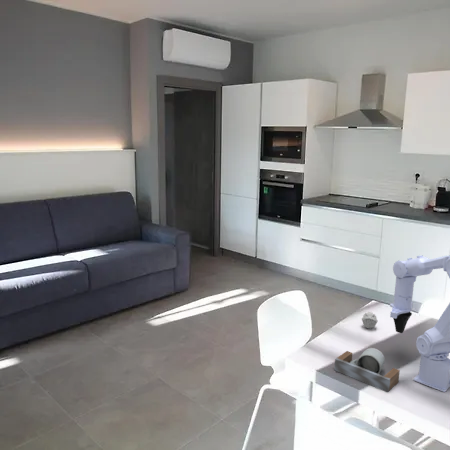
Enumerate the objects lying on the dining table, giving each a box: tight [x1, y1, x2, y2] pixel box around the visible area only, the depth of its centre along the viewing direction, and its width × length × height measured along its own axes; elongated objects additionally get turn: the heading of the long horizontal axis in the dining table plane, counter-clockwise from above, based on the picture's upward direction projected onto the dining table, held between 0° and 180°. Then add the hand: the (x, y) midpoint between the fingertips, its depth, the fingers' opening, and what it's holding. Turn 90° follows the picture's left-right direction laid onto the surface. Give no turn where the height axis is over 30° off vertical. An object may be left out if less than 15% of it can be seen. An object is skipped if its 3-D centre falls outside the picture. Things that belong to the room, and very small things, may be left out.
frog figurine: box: [361, 311, 378, 329], centre depth 177 cm, size 6×7×7 cm
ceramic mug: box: [350, 347, 385, 375], centre depth 144 cm, size 11×8×8 cm
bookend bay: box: [334, 350, 400, 393], centre depth 141 cm, size 18×8×4 cm, turn 47°
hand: (399, 331), depth 153 cm, fingers closed
